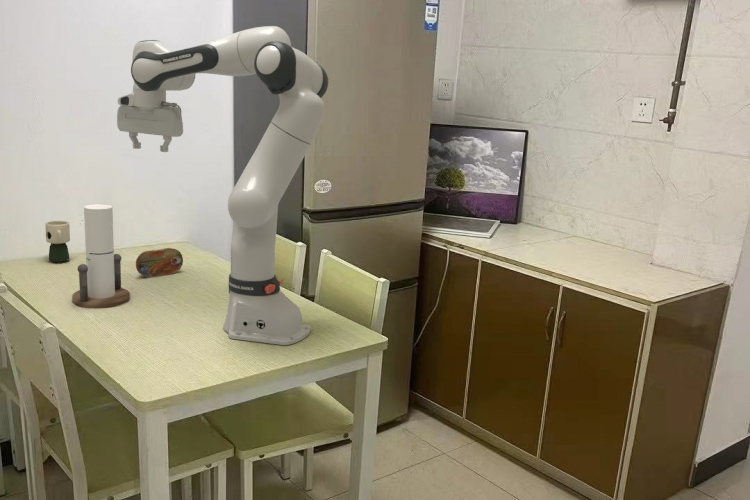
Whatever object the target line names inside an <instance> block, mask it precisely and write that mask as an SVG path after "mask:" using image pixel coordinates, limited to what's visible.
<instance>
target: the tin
mask: <svg viewBox="0 0 750 500" xmlns="http://www.w3.org/2000/svg"><path fill="white" fill-rule="evenodd" d="M183 263H184V258H183V254H182V252H181V251H180V250H178V249H176V248H172V247H167V248H166V247H165V248H159V249H152V250H151V249H150V250H146V251H143V252H141V253H140V254H139V255H138V256H137V258H136V260H135V268H136V270H137V272H138V273H139V274H140V275H141V276H143V277H144V278H149V279H150V278H157V277H164V276H168V275H174V274H176V273H178V272H179V271H180V270H181V269H182V266H183Z"/></svg>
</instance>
